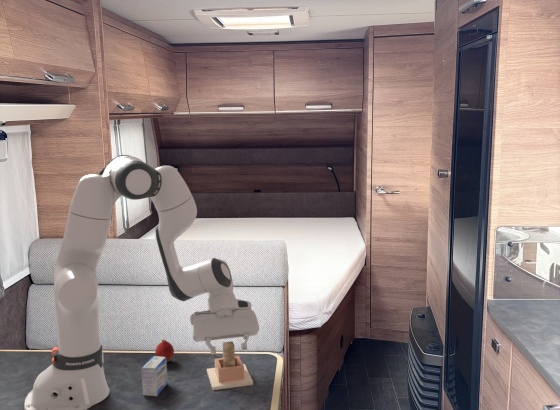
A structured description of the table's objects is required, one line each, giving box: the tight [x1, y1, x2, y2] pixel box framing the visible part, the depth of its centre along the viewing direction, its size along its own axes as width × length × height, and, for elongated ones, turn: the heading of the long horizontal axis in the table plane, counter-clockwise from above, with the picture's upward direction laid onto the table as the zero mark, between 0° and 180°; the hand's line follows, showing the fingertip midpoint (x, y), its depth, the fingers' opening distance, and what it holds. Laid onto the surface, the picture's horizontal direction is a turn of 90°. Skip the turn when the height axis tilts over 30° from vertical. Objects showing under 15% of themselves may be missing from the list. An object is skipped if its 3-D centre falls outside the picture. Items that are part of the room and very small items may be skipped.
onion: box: [155, 338, 175, 363], centre depth 181 cm, size 6×6×8 cm
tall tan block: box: [222, 340, 236, 368], centre depth 171 cm, size 3×3×10 cm
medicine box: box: [141, 355, 168, 397], centre depth 164 cm, size 8×4×9 cm, turn 168°
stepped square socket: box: [206, 355, 254, 391], centre depth 171 cm, size 12×12×5 cm
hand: (229, 351), depth 169 cm, fingers open, 8 cm apart
